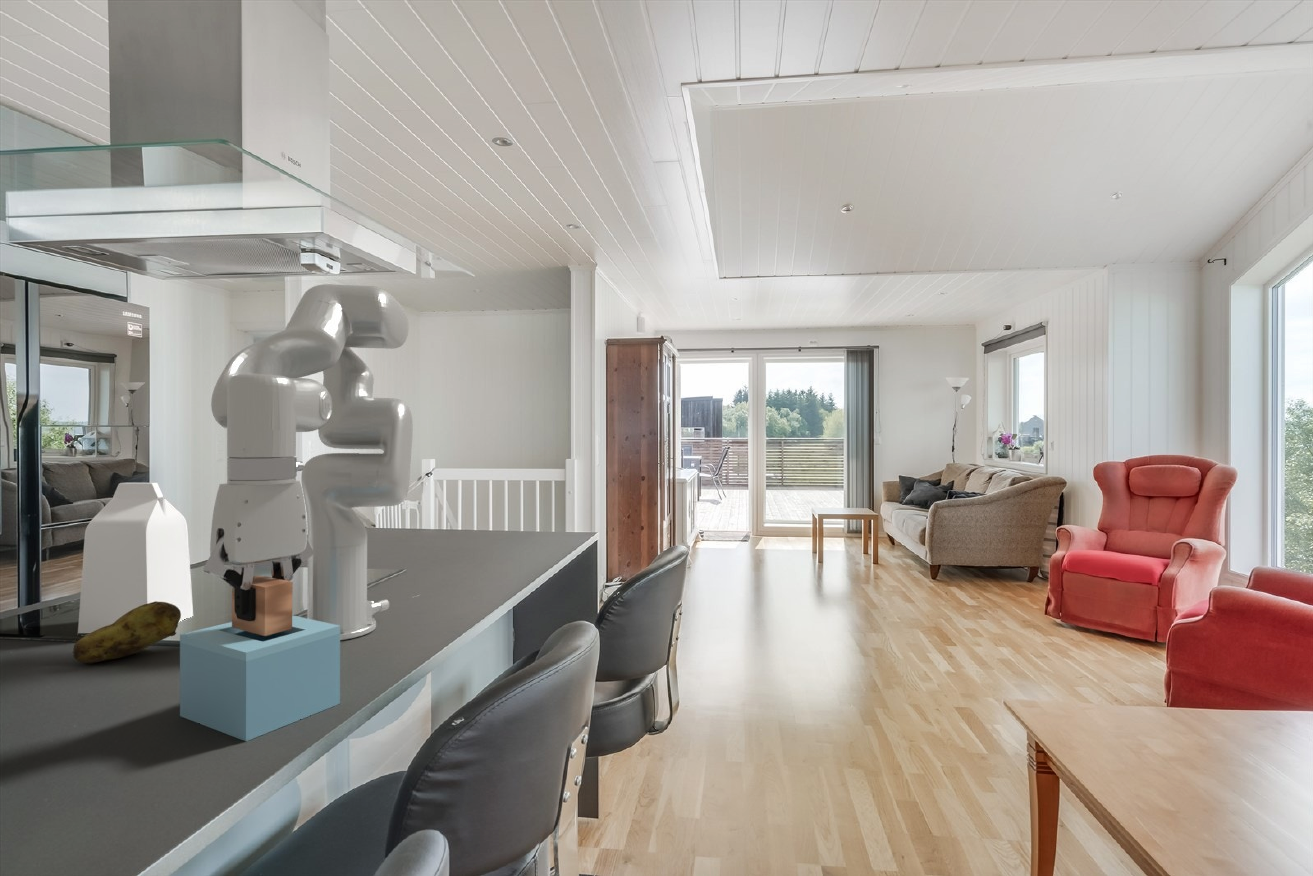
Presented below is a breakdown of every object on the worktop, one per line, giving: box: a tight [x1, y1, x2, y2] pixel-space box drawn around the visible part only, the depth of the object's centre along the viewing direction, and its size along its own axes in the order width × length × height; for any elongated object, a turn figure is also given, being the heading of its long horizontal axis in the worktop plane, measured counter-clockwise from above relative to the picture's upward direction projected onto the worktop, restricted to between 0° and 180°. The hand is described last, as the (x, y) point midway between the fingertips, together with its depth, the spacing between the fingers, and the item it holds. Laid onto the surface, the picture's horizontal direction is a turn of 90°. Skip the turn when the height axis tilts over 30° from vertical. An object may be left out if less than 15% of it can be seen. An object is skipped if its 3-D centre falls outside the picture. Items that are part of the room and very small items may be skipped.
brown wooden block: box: [231, 574, 294, 636], centre depth 84 cm, size 4×7×6 cm, turn 62°
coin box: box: [179, 614, 341, 742], centre depth 84 cm, size 12×14×10 cm
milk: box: [77, 482, 194, 634], centre depth 120 cm, size 12×12×26 cm
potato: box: [72, 601, 181, 665], centre depth 103 cm, size 8×13×8 cm, turn 120°
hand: (262, 614), depth 84 cm, fingers closed on brown wooden block, 3 cm apart
